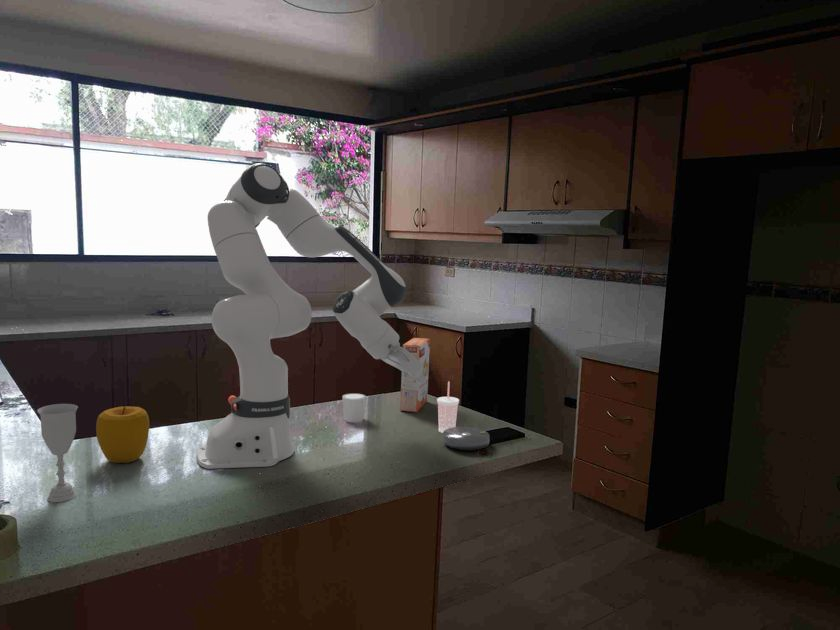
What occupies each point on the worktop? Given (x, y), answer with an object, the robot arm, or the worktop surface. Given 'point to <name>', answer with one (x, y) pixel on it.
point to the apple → (123, 433)
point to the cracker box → (410, 386)
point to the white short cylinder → (354, 407)
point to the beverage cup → (447, 411)
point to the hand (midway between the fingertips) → (415, 376)
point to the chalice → (59, 443)
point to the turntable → (466, 438)
